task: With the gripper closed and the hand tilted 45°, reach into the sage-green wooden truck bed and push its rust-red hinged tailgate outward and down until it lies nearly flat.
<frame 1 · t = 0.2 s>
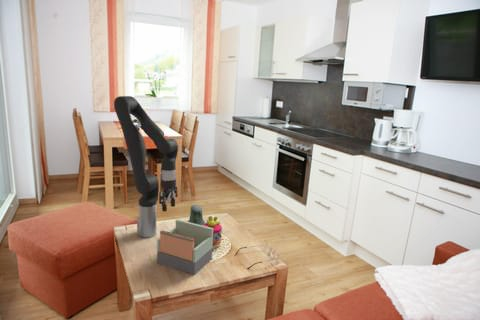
hand: (168, 208, 176), 18 cm above the table, tool pointing down, fingers open, 8 cm apart
tailgate: (176, 245, 151), point 11 cm above the table, hinge at 0.0°
eyeglasses: (257, 259, 168), on the table
cake: (210, 246, 177), on the table
tree stump: (193, 230, 195), on the table
truck bed: (185, 261, 160), on the table
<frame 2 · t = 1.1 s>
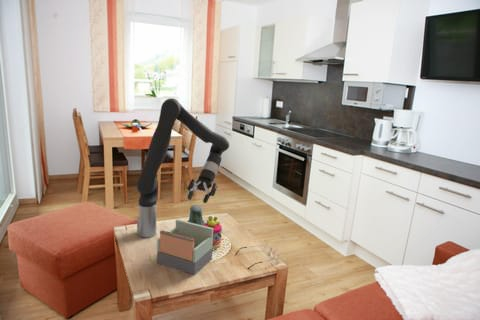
hand: (196, 200, 163), 27 cm above the table, tool tilted 45°, fingers open, 8 cm apart
nothing on the table moved.
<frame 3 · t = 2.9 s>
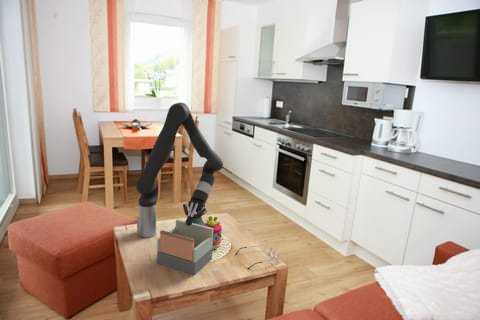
hand: (187, 225, 157), 18 cm above the table, tool tilted 45°, fingers closed
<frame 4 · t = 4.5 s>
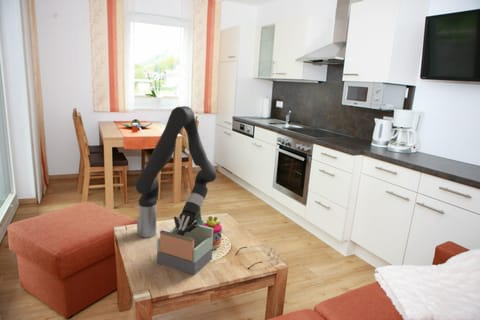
hand: (178, 238, 152), 14 cm above the table, tool tilted 45°, fingers closed
tailgate: (176, 245, 151), point 11 cm above the table, hinge at 0.0°, touching gripper
everything else where it was.
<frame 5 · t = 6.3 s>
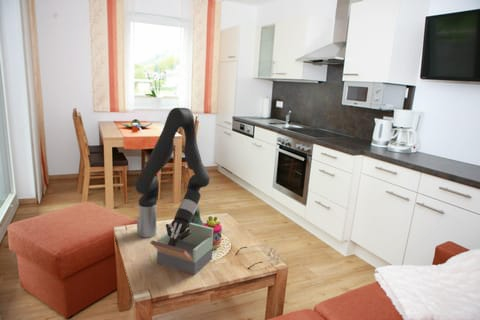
hand: (170, 247, 147), 13 cm above the table, tool tilted 45°, fingers closed
tailgate: (171, 250, 148), point 10 cm above the table, hinge at 44.0°, touching gripper
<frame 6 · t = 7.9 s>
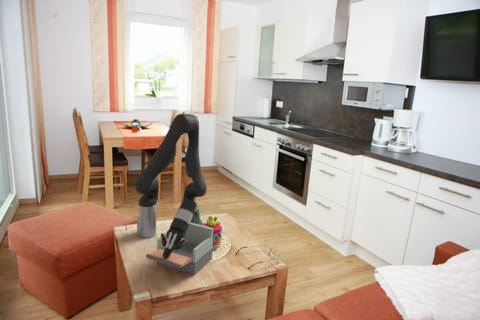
hand: (164, 257, 144), 9 cm above the table, tool tilted 45°, fingers closed
tailgate: (169, 257, 147), point 8 cm above the table, hinge at 80.0°, touching gripper
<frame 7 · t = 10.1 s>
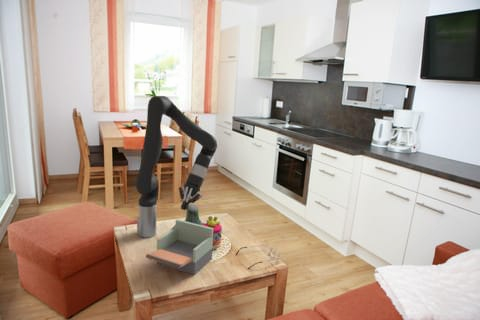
hand: (183, 209, 159), 24 cm above the table, tool tilted 30°, fingers closed
tailgate: (169, 257, 147), point 8 cm above the table, hinge at 80.0°
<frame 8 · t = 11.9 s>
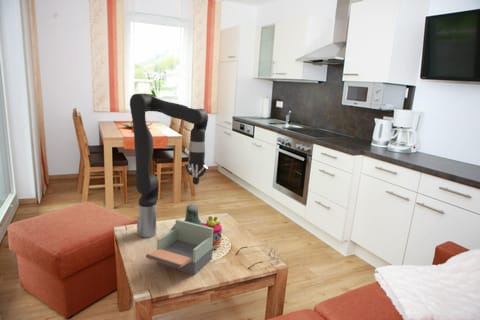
hand: (195, 184, 170), 33 cm above the table, tool pointing down, fingers closed
at the end: tailgate at +80° (first picture: +0°) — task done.
